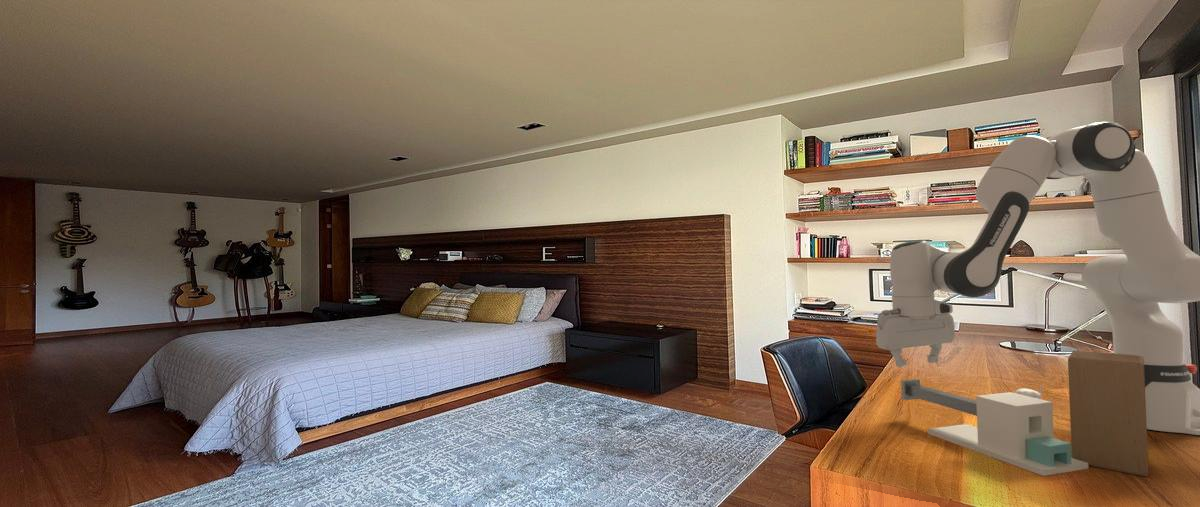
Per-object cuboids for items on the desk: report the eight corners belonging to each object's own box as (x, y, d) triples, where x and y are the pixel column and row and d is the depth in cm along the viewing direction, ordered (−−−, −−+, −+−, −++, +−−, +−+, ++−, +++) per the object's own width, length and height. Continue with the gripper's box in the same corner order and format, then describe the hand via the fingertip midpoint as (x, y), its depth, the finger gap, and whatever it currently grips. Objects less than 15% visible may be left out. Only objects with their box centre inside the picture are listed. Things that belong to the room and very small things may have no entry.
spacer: (1048, 455, 99) (1047, 436, 99) (1071, 463, 95) (1070, 443, 95) (1027, 458, 97) (1026, 439, 97) (1050, 466, 94) (1049, 446, 94)
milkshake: (1051, 433, 114) (1050, 388, 114) (1023, 432, 115) (1022, 387, 115) (1038, 426, 118) (1037, 383, 118) (1011, 425, 119) (1010, 382, 119)
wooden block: (1147, 461, 97) (1143, 355, 98) (1148, 478, 90) (1144, 363, 91) (1075, 448, 104) (1071, 349, 105) (1071, 462, 98) (1067, 357, 98)
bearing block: (966, 428, 118) (964, 380, 118) (1088, 468, 95) (1086, 408, 95) (927, 433, 115) (925, 384, 116) (1043, 475, 92) (1040, 414, 92)
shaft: (917, 397, 127) (916, 378, 127) (1022, 428, 103) (1021, 405, 103) (901, 399, 126) (901, 380, 126) (1004, 431, 102) (1003, 407, 102)
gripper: (888, 311, 120) (891, 371, 119) (958, 305, 125) (962, 362, 124) (867, 309, 126) (871, 366, 125) (935, 303, 131) (939, 358, 130)
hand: (917, 364), depth 125 cm, fingers open, 8 cm apart
